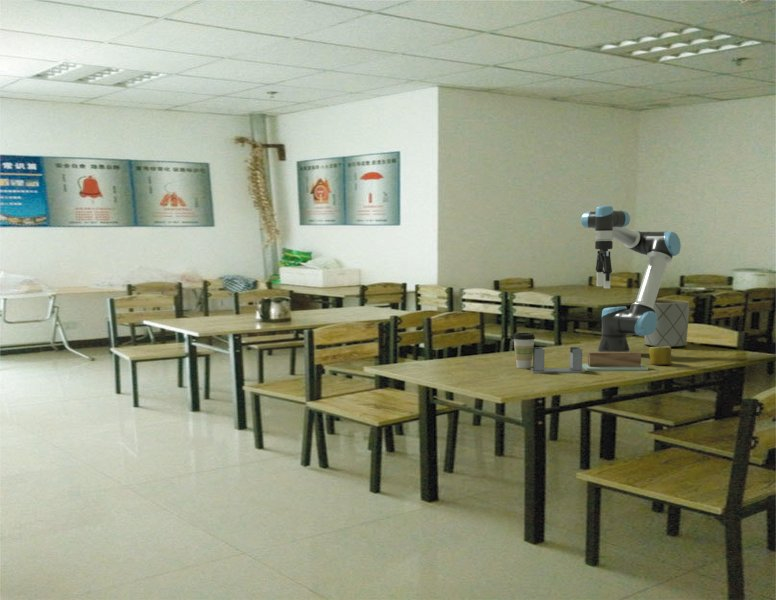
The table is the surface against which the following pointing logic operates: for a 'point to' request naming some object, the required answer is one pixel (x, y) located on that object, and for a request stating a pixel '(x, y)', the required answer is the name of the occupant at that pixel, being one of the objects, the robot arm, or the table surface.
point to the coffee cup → (523, 349)
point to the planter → (670, 323)
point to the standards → (574, 368)
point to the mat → (614, 368)
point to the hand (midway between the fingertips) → (603, 287)
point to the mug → (660, 355)
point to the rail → (614, 359)
